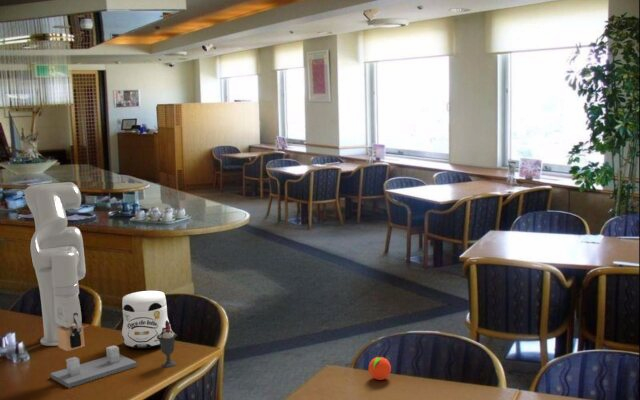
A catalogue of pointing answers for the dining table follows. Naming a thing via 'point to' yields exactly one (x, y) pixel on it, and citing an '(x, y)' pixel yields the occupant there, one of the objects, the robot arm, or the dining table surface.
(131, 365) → the slate board
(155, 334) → the milk container
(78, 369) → the post near
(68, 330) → the peach wooden block
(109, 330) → the dining table surface
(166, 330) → the sundae
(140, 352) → the dining table surface
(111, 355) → the post far
